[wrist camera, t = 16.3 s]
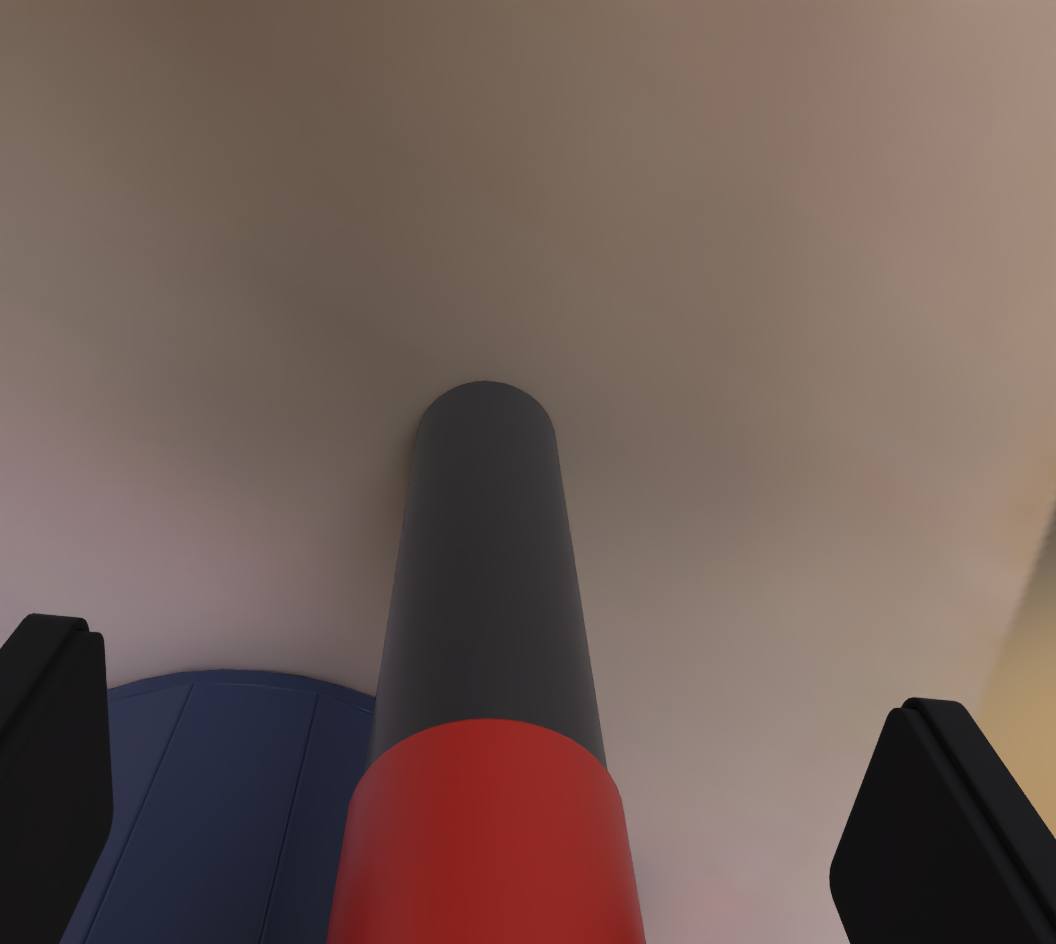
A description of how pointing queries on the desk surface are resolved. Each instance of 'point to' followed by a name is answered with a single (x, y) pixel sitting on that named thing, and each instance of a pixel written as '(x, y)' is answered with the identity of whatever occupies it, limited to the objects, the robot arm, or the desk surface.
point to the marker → (485, 710)
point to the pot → (224, 809)
